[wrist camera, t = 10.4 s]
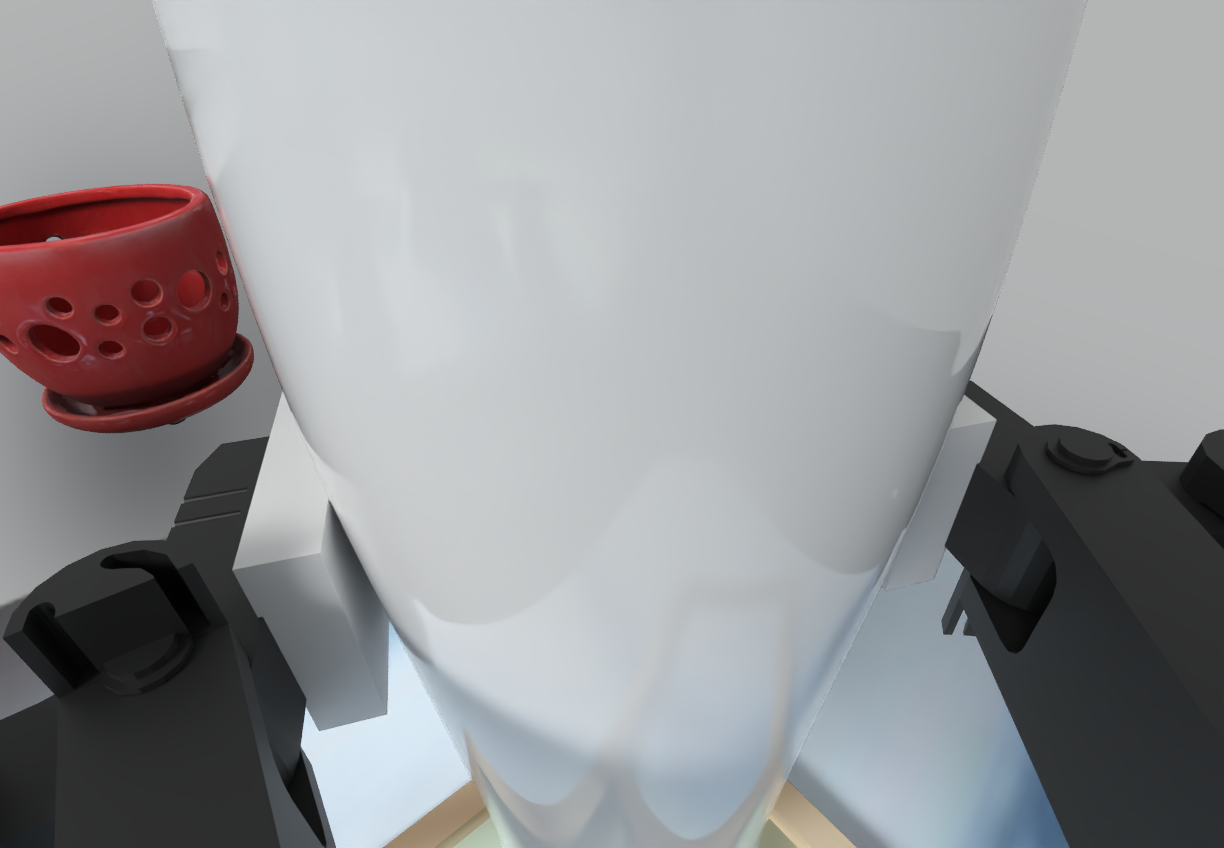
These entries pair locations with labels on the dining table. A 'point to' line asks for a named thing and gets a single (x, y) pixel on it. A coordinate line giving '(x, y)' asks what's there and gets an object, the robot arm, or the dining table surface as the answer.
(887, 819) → the dining table surface
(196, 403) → the plant pot
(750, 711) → the drinking glass
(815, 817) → the wooden window frame
